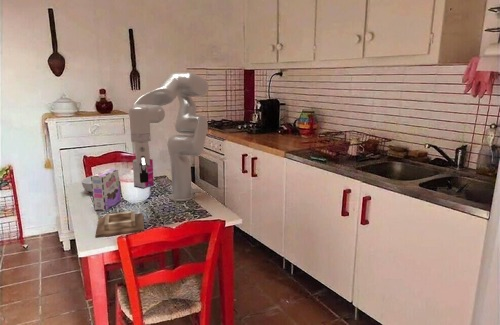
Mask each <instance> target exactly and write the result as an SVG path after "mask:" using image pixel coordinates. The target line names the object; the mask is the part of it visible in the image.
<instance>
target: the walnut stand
mask: <svg viewBox="0 0 500 325" xmlns="http://www.w3.org/2000/svg"><path fill="white" fill-rule="evenodd" d="M97 219H98V220H97V224H96V230H95V238H102V237H111V236H118V235H126V234H128V235H129V234H134V233H139V232H138V231H143V230H144V231H145V225H144V214H143V212H139V213H135V211H134V210H133V211H132V210H131V211H122V212H115V213H106V214H105V217H98V218H97ZM144 231H143V232H144Z"/></svg>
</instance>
